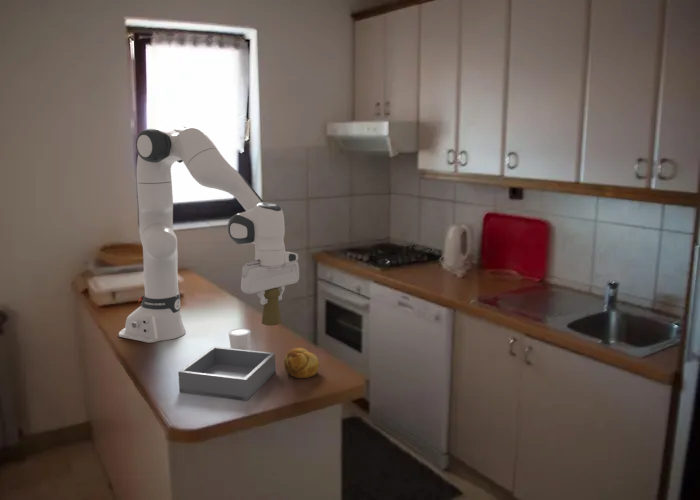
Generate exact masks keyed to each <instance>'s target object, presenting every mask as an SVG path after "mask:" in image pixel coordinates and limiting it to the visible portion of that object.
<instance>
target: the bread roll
mask: <svg viewBox="0 0 700 500" xmlns="http://www.w3.org/2000/svg"><path fill="white" fill-rule="evenodd" d="M283 364H284V365H283V366H284V368H285V370H286V372H287V373H288V374H289V375H290V376H291V377H293V378H295V379H308V378H311V377H314V376H315V375H316V374H317V373H318V371H319V369H320V362H319V359H318V357H317V356H316V354H315V353H313V352H309V351H308V350H307V349H305V348H303V347H295V348H291V349H290V350H289V351H288V352H287V353H286V354H285V356H284V361H283Z"/></svg>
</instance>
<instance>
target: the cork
mask: <svg viewBox="0 0 700 500" xmlns="http://www.w3.org/2000/svg"><path fill="white" fill-rule="evenodd" d="M263 295H264V297H265V298H267V299H268V301H267V302H268V304H265V305H262V306H263V307H262V316H261V324H262V325H265V326H269V327H270V326H277V325H278V326H279V325H281V324H282V317H281V309H280V303H279V301H278V297H279V295H280V291H279V289H278V288H273V289H269V290H265V294H263Z"/></svg>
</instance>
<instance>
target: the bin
mask: <svg viewBox="0 0 700 500" xmlns="http://www.w3.org/2000/svg"><path fill="white" fill-rule="evenodd" d="M274 374H276V353H275V352H269V351H260V350H251V349H249V350H241V349H232V348H231V347H223V346H222V347H220V346H212V347H211V348H209V349H208V350H207V351H205V352H204V353H202V354H201V355H200V356H198V357H197V358H195V359H194V360H192V361H191V362H190V363H188V364H187V365H186V366H184V367H183V368H182V369H180V370H179V371H178V386H179V389H178V390H179V393H182V394H189V395H197V396H205V397H212V398H221V399H228V400H234V401H235V400H237V401H244V402H245V401H246V402H248V401H249V399H251V398H252V396H253V395H254V394H255V393H257V392H258V390H259V389H261V387H263V386H264V385H265V384H266V382H268V381H269V379H271V377H273V376H274Z"/></svg>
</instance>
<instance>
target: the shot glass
mask: <svg viewBox="0 0 700 500" xmlns="http://www.w3.org/2000/svg"><path fill="white" fill-rule="evenodd" d="M228 336H229V337H228V339H229V345H230V347H229V348H232V349H241V350H250V345H251V330H250V329H248V328H235V329H231V330H229V331H228Z"/></svg>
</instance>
